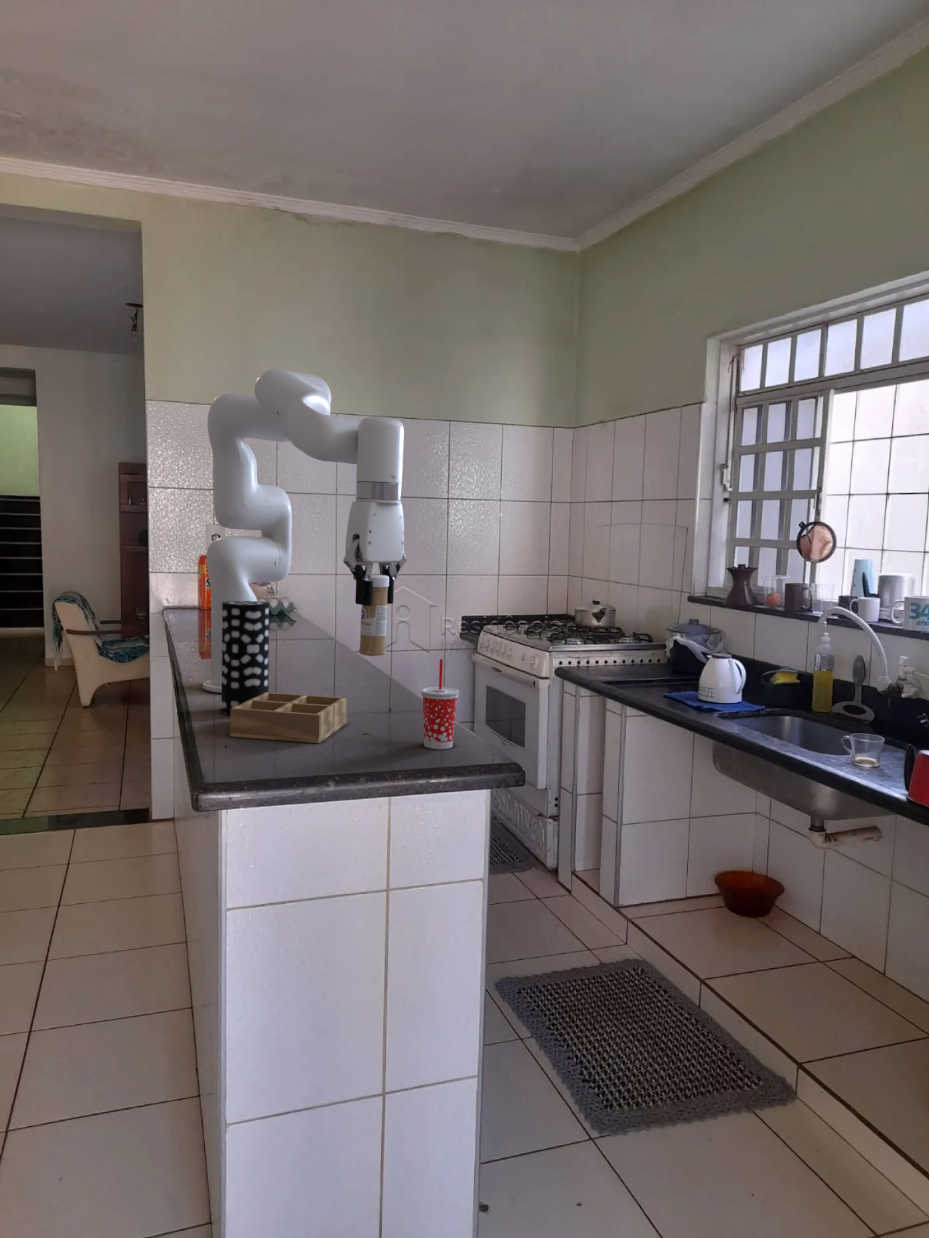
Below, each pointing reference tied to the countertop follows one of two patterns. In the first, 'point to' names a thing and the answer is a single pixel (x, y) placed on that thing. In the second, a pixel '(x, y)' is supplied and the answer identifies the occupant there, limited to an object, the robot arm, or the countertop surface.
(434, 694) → the beverage cup
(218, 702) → the countertop surface
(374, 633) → the sprinkles bottle
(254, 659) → the spotted tube
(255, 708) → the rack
